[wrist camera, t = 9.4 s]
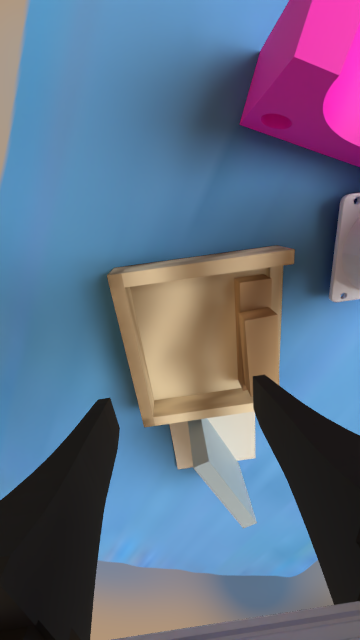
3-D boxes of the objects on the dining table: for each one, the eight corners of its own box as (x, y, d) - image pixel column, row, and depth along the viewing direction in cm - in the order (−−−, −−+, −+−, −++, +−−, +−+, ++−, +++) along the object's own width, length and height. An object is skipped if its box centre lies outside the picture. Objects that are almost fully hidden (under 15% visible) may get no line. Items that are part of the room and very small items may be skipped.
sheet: (198, 406, 25) (209, 461, 19) (238, 463, 28) (256, 522, 23) (186, 412, 25) (193, 467, 19) (227, 467, 28) (243, 528, 23)
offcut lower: (263, 273, 19) (271, 278, 18) (262, 376, 23) (269, 387, 22) (234, 278, 19) (239, 282, 18) (238, 379, 23) (243, 390, 22)
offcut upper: (268, 307, 19) (277, 314, 17) (271, 379, 22) (279, 391, 20) (238, 312, 19) (244, 320, 17) (244, 384, 22) (250, 396, 20)
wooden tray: (277, 245, 19) (294, 249, 17) (272, 387, 25) (285, 406, 22) (114, 267, 19) (106, 275, 17) (146, 405, 25) (144, 427, 22)
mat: (253, 401, 25) (254, 404, 25) (253, 455, 28) (255, 458, 28) (167, 413, 25) (168, 416, 25) (177, 466, 28) (178, 469, 28)
